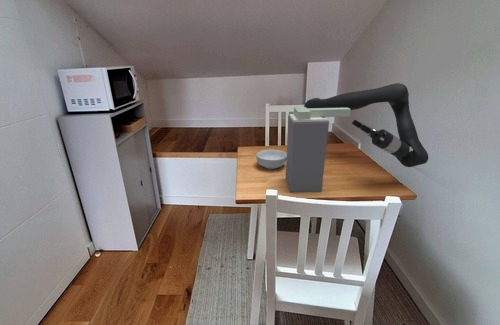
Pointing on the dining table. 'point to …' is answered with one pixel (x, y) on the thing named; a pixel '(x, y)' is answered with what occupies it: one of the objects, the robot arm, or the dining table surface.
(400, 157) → the robot arm
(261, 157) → the cereal bowl
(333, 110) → the sage t bar
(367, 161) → the dining table surface
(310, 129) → the tall grey slotted pedestal
